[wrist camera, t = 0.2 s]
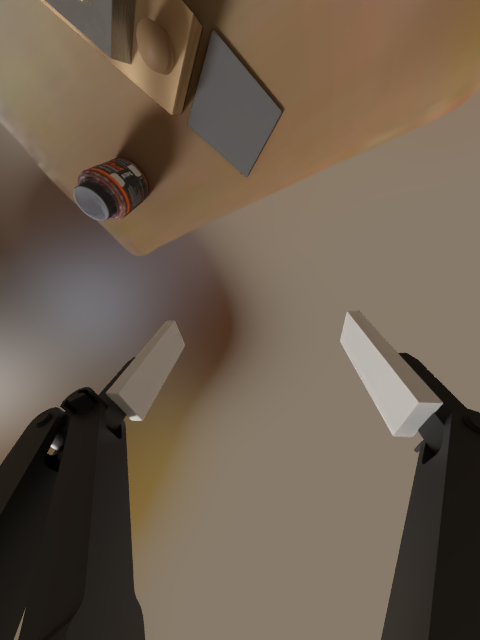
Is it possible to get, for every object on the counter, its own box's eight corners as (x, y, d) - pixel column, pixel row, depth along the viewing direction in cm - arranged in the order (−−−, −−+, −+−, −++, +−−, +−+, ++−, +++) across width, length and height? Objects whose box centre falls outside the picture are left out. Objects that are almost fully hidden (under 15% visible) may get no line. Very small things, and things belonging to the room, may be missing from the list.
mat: (213, 29, 18) (212, 28, 18) (281, 111, 22) (282, 111, 22) (187, 124, 23) (187, 125, 23) (246, 176, 28) (246, 177, 27)
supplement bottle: (134, 152, 26) (90, 170, 19) (156, 197, 31) (127, 225, 24) (102, 161, 27) (49, 181, 20) (128, 204, 32) (92, 232, 25)
